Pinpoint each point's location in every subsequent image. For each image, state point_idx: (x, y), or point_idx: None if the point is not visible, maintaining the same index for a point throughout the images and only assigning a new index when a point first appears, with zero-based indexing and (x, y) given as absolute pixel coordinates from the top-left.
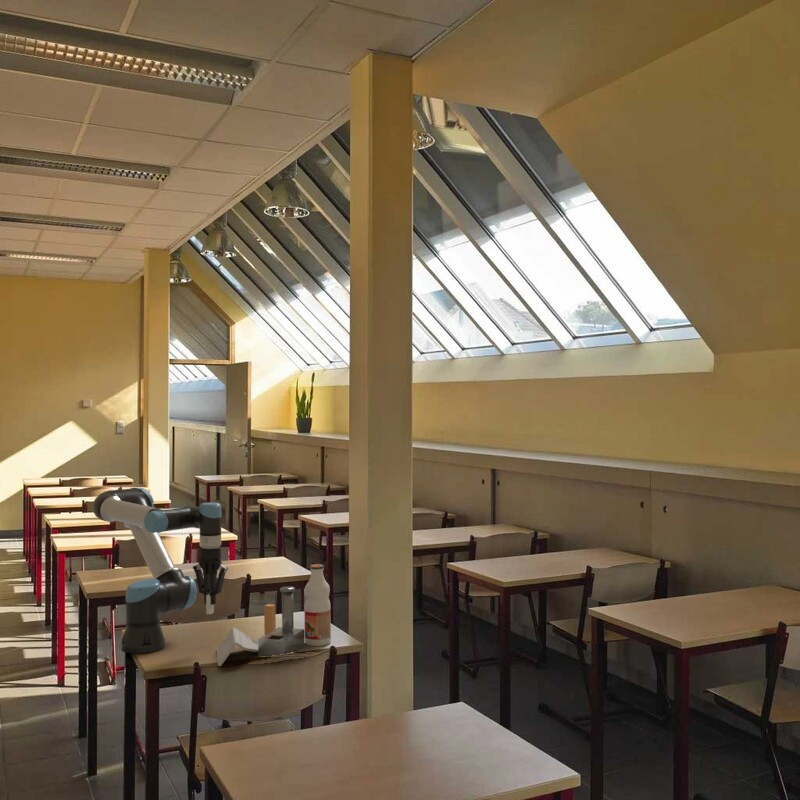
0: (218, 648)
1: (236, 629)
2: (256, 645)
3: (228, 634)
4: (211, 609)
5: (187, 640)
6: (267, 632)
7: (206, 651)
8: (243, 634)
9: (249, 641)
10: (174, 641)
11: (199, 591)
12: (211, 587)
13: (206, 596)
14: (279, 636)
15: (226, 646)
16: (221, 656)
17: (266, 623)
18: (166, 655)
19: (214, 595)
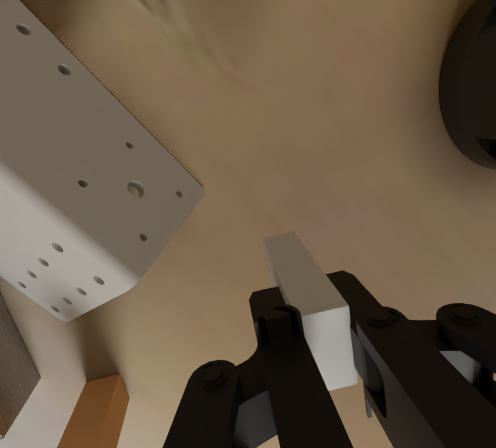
0: (184, 186)
1: (106, 277)
2: (17, 270)
3: (145, 240)
4: (271, 273)
5: (413, 245)
6: (95, 407)
7: (236, 162)
8: (83, 284)
9: (13, 247)
10: (453, 211)
11: (479, 310)
12: (309, 417)
13: (341, 300)
14: None
15: (24, 99)
16: (17, 40)
17: (87, 441)
18: (362, 25)
19: (257, 356)
